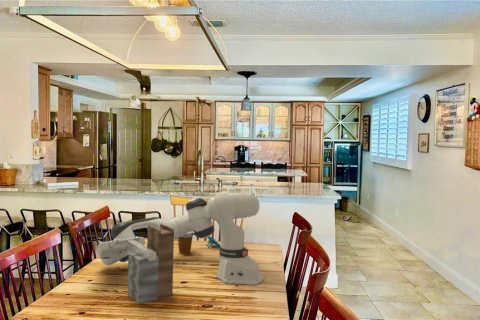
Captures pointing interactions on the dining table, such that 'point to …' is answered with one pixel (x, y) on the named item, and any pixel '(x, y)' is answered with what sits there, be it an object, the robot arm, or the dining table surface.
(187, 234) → the disposable coffee cup
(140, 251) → the steel bar
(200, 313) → the dining table surface
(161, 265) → the stand
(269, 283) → the dining table surface
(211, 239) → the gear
